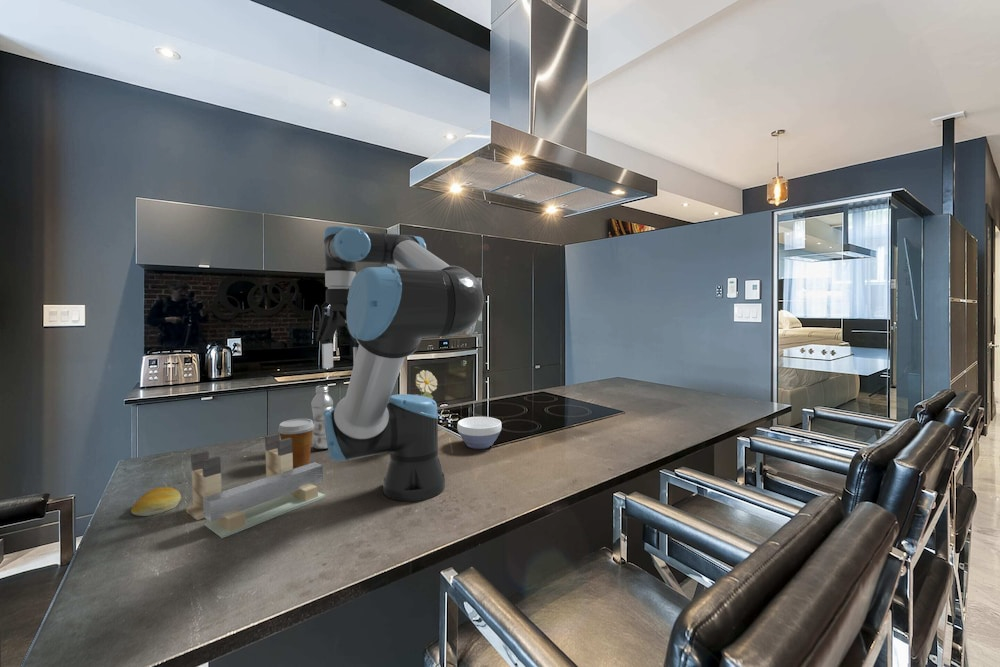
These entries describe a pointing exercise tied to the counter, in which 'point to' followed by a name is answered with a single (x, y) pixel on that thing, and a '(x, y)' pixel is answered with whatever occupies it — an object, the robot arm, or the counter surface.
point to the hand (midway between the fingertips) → (343, 370)
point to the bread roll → (156, 501)
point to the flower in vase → (426, 383)
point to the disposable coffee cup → (298, 439)
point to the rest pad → (264, 511)
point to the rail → (261, 491)
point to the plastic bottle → (320, 415)
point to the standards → (209, 470)
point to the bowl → (479, 431)
